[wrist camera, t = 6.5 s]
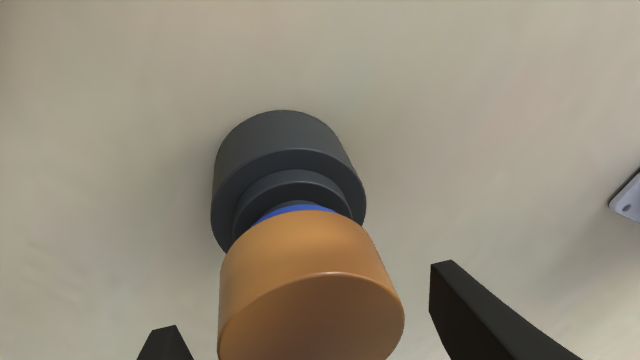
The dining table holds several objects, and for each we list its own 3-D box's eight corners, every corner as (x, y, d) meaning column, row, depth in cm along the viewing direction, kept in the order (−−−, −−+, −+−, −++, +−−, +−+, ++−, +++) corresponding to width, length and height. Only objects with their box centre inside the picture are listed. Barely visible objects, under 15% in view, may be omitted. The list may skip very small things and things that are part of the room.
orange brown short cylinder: (404, 233, 12) (441, 297, 10) (331, 334, 14) (348, 404, 12) (258, 187, 10) (265, 252, 8) (197, 310, 12) (189, 389, 10)
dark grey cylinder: (368, 139, 18) (427, 227, 12) (309, 235, 20) (337, 344, 15) (245, 87, 15) (251, 167, 10) (195, 202, 18) (178, 318, 12)
